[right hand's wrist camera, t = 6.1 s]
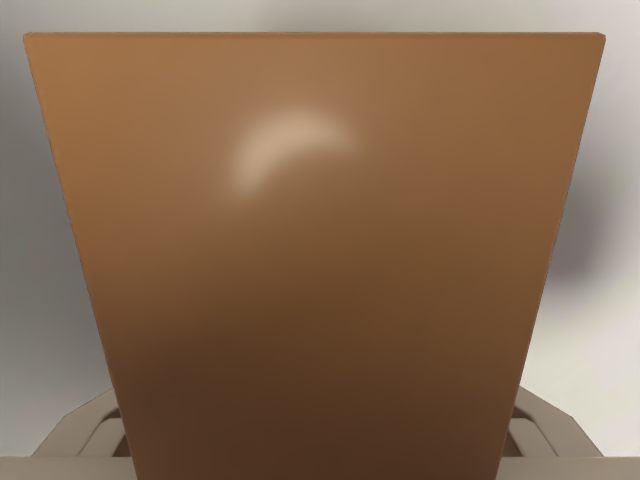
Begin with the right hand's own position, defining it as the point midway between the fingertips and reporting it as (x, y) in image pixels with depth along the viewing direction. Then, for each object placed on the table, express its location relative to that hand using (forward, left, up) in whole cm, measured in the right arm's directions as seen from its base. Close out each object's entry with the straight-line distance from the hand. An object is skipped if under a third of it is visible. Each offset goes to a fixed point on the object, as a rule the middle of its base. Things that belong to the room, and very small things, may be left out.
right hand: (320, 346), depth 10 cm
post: (+22, -16, -3) cm, 27 cm away
